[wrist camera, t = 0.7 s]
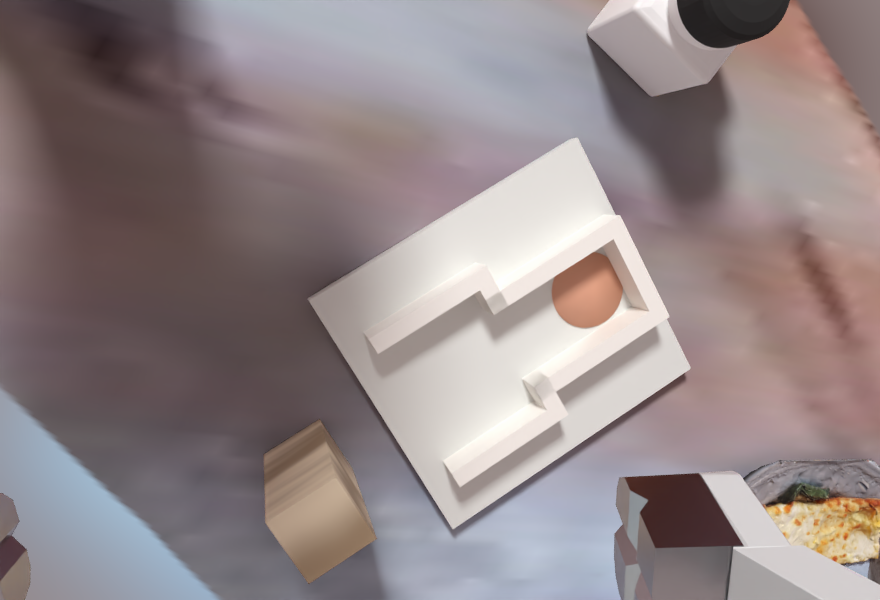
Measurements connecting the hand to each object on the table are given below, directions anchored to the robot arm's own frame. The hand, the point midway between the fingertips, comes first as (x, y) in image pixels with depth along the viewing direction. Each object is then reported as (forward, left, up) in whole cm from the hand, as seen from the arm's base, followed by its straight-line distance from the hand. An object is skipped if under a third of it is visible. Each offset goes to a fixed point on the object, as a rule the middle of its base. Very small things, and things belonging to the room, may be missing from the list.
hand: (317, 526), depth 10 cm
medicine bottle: (-1, +32, -41) cm, 52 cm away
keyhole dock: (+13, +12, -41) cm, 44 cm away
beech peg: (+13, -5, -41) cm, 43 cm away
